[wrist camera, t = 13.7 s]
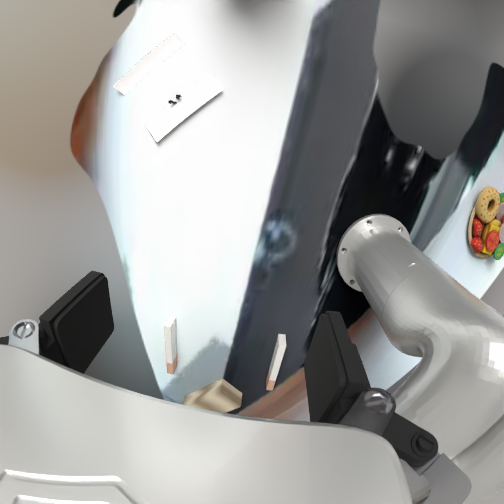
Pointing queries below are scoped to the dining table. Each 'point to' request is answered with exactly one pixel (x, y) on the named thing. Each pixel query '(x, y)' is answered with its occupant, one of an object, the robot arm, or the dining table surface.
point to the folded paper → (184, 102)
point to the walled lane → (172, 352)
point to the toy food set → (487, 224)
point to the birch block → (215, 397)
